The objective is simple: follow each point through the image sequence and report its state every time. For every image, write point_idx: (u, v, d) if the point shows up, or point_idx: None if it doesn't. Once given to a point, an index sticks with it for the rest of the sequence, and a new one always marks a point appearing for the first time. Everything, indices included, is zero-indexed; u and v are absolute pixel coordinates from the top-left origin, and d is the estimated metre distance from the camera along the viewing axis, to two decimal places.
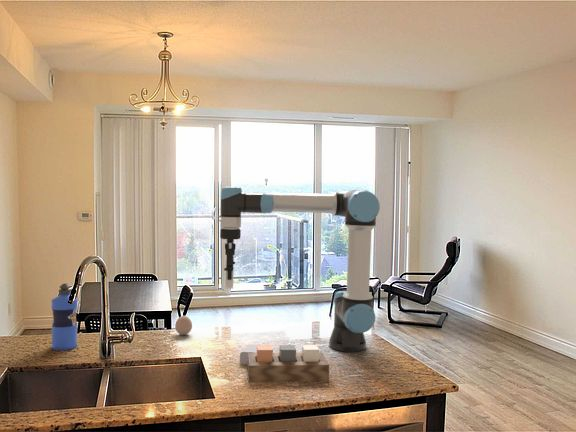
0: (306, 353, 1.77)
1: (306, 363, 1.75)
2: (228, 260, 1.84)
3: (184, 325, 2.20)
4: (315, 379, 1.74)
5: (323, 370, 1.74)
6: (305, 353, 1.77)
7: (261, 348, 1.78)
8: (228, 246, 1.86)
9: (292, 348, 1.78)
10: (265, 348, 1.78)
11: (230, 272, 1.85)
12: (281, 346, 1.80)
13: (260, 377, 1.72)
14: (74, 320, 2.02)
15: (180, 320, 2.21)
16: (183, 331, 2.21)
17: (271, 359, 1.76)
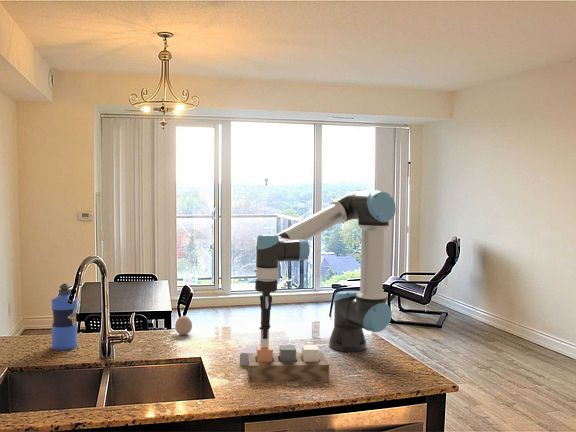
0: (306, 353, 1.77)
1: (306, 363, 1.75)
2: (264, 321, 1.74)
3: (184, 325, 2.20)
4: (315, 379, 1.74)
5: (323, 370, 1.74)
6: (305, 353, 1.77)
7: (261, 348, 1.78)
8: (265, 307, 1.72)
9: (292, 348, 1.78)
10: (265, 348, 1.78)
11: (266, 331, 1.76)
12: (281, 346, 1.80)
13: (260, 377, 1.72)
14: (74, 320, 2.02)
15: (180, 320, 2.21)
16: (183, 331, 2.21)
17: (271, 359, 1.76)
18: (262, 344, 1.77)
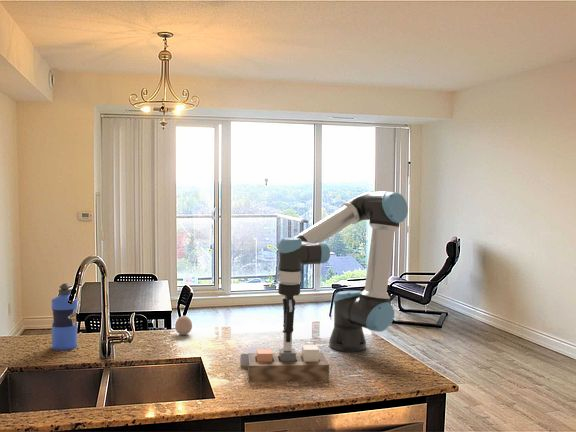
0: (306, 353, 1.77)
1: (306, 363, 1.75)
2: (288, 324, 1.74)
3: (184, 325, 2.20)
4: (315, 379, 1.74)
5: (323, 370, 1.74)
6: (305, 353, 1.77)
7: (261, 351, 1.78)
8: (288, 310, 1.73)
9: (292, 352, 1.78)
10: (265, 352, 1.78)
11: (289, 334, 1.77)
12: (281, 349, 1.80)
13: (260, 377, 1.72)
14: (74, 320, 2.02)
15: (180, 320, 2.21)
16: (183, 331, 2.21)
17: None
18: (285, 347, 1.78)
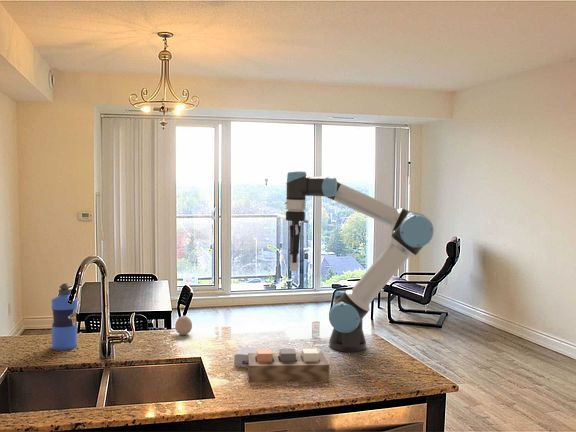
0: (306, 357, 1.78)
1: (306, 363, 1.75)
2: (294, 246, 1.99)
3: (184, 325, 2.20)
4: (315, 379, 1.74)
5: (323, 370, 1.74)
6: (305, 357, 1.77)
7: (261, 351, 1.78)
8: (295, 233, 1.97)
9: (292, 352, 1.78)
10: (265, 352, 1.78)
11: (295, 256, 2.01)
12: (281, 350, 1.80)
13: (260, 377, 1.72)
14: (74, 320, 2.02)
15: (180, 320, 2.21)
16: (183, 331, 2.21)
17: None
18: (292, 267, 2.02)
